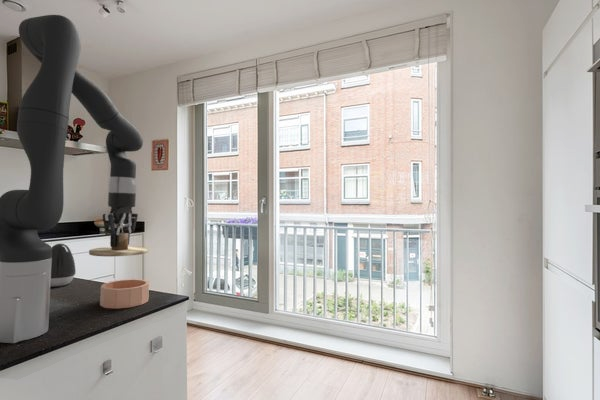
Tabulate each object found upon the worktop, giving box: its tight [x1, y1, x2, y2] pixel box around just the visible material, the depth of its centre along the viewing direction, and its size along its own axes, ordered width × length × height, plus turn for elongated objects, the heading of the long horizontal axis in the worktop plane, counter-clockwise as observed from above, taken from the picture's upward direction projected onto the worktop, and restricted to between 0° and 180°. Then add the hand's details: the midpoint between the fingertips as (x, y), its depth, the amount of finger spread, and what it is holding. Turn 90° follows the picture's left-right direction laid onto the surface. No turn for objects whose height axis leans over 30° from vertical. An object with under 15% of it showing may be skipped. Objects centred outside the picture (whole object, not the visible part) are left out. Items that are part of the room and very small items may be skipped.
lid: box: [88, 232, 149, 258], centre depth 99 cm, size 16×16×6 cm
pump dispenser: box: [50, 243, 76, 288], centre depth 115 cm, size 10×10×15 cm
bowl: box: [99, 278, 150, 310], centre depth 98 cm, size 13×13×6 cm
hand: (120, 245), depth 99 cm, fingers closed on lid, 4 cm apart
